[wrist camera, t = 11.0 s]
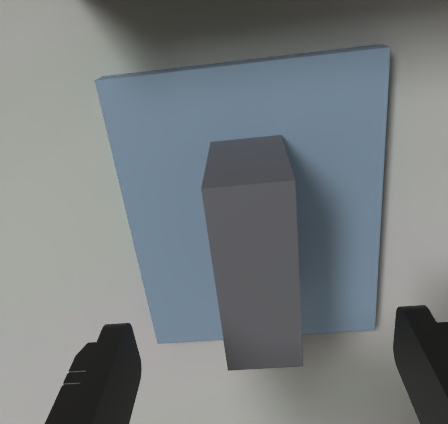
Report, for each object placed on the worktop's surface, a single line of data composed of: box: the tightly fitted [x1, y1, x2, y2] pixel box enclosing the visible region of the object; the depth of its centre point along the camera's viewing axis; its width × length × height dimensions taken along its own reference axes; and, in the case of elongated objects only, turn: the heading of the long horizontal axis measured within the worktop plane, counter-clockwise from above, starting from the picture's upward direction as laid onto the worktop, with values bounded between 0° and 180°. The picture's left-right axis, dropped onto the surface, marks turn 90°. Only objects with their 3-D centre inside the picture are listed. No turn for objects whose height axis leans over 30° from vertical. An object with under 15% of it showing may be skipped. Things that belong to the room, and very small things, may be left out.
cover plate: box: [95, 44, 391, 370], centre depth 18 cm, size 14×12×6 cm
